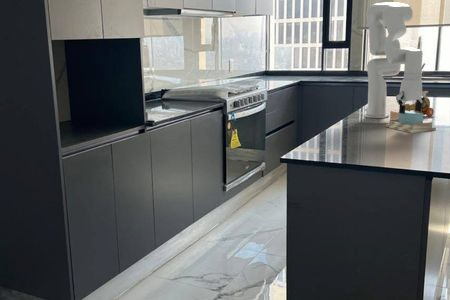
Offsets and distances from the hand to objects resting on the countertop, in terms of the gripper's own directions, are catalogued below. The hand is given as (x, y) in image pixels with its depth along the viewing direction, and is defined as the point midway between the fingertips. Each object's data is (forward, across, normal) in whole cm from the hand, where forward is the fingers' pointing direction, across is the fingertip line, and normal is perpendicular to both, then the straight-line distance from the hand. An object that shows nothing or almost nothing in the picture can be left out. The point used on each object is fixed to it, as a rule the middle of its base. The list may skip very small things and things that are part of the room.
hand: (410, 112), depth 237 cm
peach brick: (+8, -5, -14) cm, 17 cm away
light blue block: (+6, 0, +1) cm, 7 cm away
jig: (+8, 0, +1) cm, 8 cm away
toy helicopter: (+9, -24, -21) cm, 34 cm away
